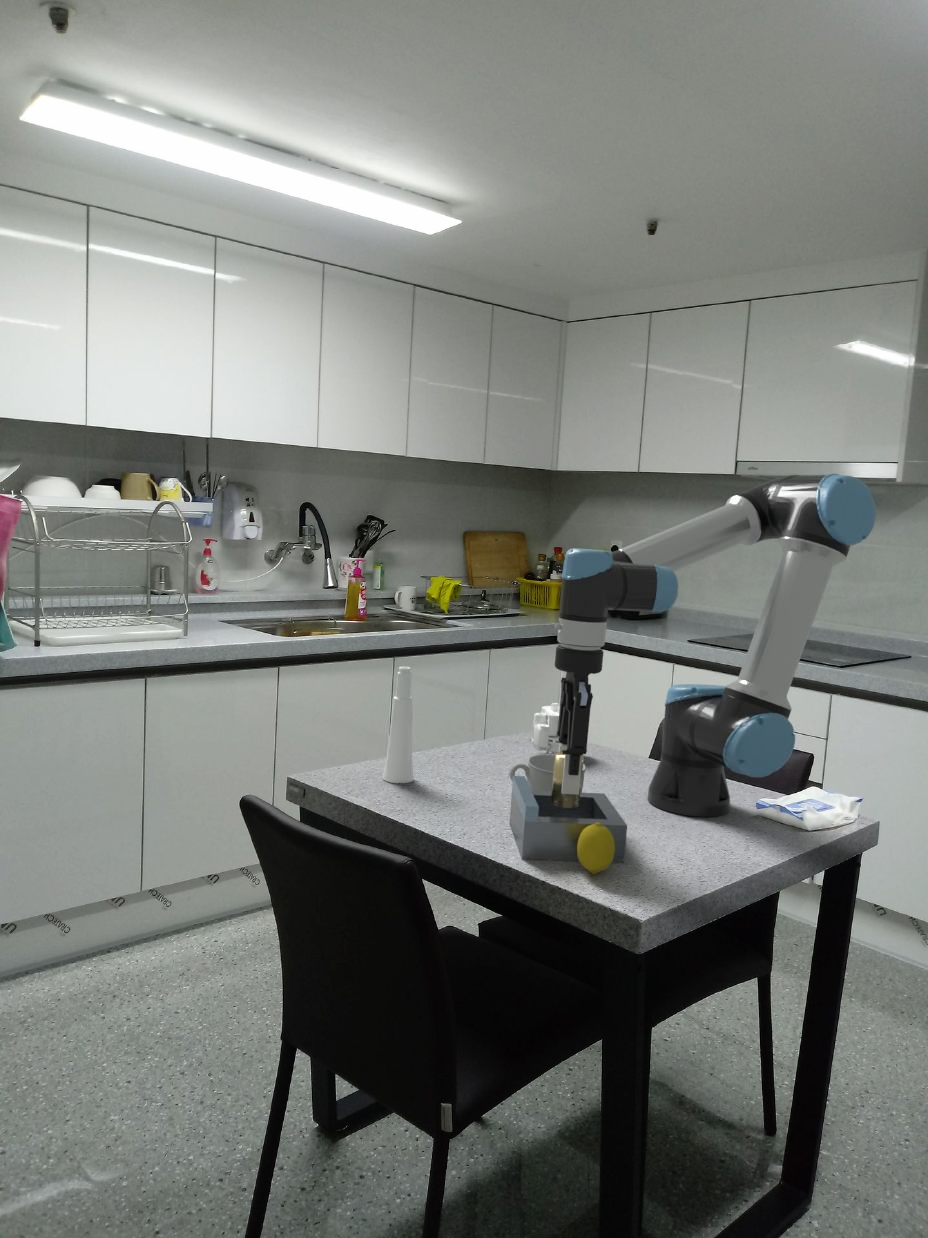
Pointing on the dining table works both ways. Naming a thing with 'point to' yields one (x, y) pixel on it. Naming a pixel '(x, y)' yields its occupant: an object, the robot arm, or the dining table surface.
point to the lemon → (595, 848)
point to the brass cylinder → (556, 795)
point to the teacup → (539, 772)
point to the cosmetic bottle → (400, 732)
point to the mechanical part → (546, 729)
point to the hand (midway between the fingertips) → (567, 788)
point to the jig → (559, 823)
